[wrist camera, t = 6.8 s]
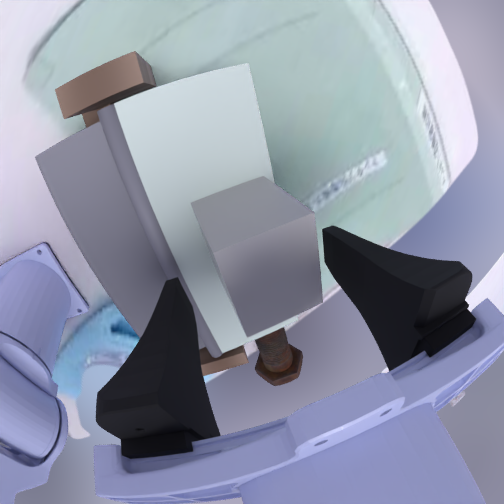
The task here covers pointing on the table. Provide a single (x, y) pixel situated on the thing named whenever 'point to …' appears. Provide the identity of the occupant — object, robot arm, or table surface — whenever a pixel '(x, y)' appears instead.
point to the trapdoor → (161, 193)
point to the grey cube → (262, 251)
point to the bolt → (278, 358)
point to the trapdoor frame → (88, 103)
